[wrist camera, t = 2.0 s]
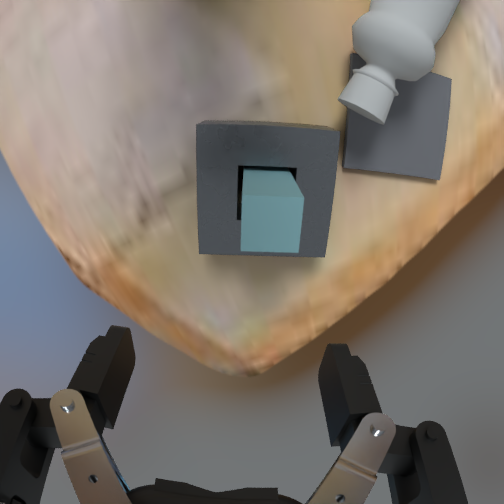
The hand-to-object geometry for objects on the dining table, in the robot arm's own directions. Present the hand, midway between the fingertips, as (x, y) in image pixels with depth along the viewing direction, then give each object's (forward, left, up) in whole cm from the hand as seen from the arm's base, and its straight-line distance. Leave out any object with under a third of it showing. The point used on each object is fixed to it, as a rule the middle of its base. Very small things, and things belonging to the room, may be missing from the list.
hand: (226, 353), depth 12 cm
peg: (-1, +2, -22) cm, 23 cm away
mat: (-9, +16, -22) cm, 29 cm away
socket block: (-1, +2, -22) cm, 23 cm away
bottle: (-23, +15, -22) cm, 36 cm away
